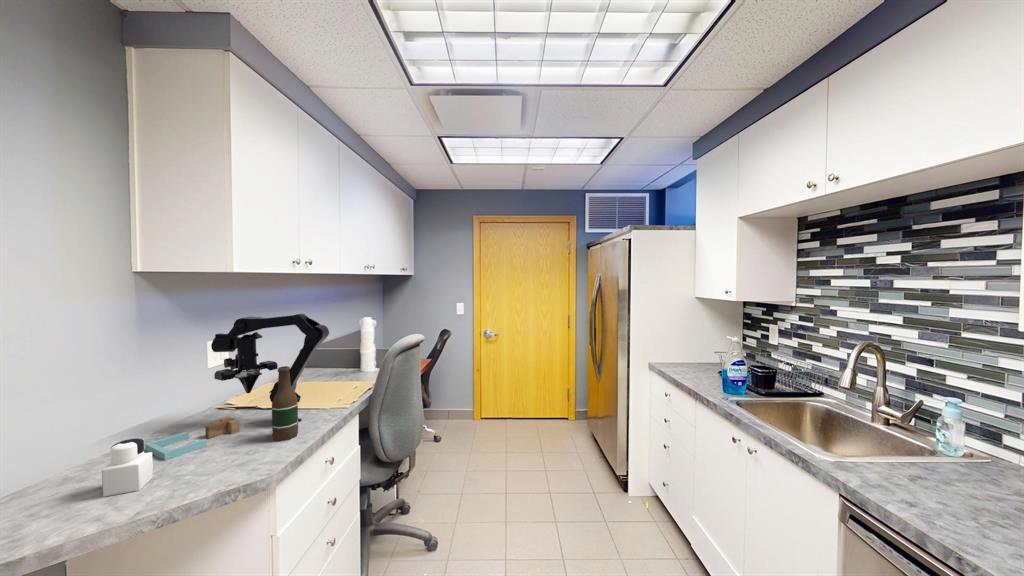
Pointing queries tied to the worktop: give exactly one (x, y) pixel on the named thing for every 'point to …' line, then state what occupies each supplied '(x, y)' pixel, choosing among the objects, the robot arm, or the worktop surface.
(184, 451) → the jig
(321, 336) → the robot arm
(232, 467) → the worktop surface
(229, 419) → the t block
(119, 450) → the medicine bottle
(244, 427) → the worktop surface
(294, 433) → the beer bottle
